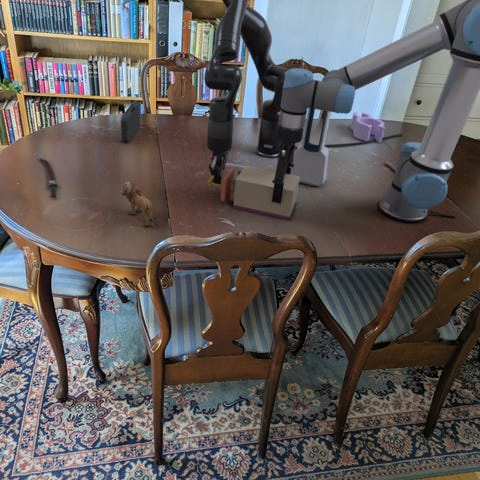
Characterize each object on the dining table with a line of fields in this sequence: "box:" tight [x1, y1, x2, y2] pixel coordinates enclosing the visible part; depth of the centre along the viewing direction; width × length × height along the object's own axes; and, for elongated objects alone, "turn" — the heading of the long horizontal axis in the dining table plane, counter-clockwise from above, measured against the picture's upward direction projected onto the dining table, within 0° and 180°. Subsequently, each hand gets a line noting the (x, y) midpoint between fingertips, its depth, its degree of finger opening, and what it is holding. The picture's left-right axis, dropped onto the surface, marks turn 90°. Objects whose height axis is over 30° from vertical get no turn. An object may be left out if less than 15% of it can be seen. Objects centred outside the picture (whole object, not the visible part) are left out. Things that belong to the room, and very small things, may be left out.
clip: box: [349, 112, 386, 143], centre depth 214 cm, size 20×12×7 cm, turn 11°
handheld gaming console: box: [120, 101, 141, 143], centre depth 188 cm, size 23×3×10 cm, turn 178°
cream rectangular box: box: [232, 165, 300, 221], centre depth 146 cm, size 18×11×10 cm, turn 74°
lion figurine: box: [119, 181, 159, 227], centre depth 134 cm, size 15×5×9 cm, turn 50°
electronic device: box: [290, 108, 332, 188], centre depth 159 cm, size 12×8×30 cm, turn 71°
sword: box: [40, 158, 59, 198], centre depth 151 cm, size 31×3×1 cm, turn 26°
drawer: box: [206, 166, 242, 202], centre depth 148 cm, size 22×10×8 cm, turn 74°
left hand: (217, 185), depth 150 cm, fingers closed
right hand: (280, 193), depth 145 cm, fingers closed on cream rectangular box, 11 cm apart
